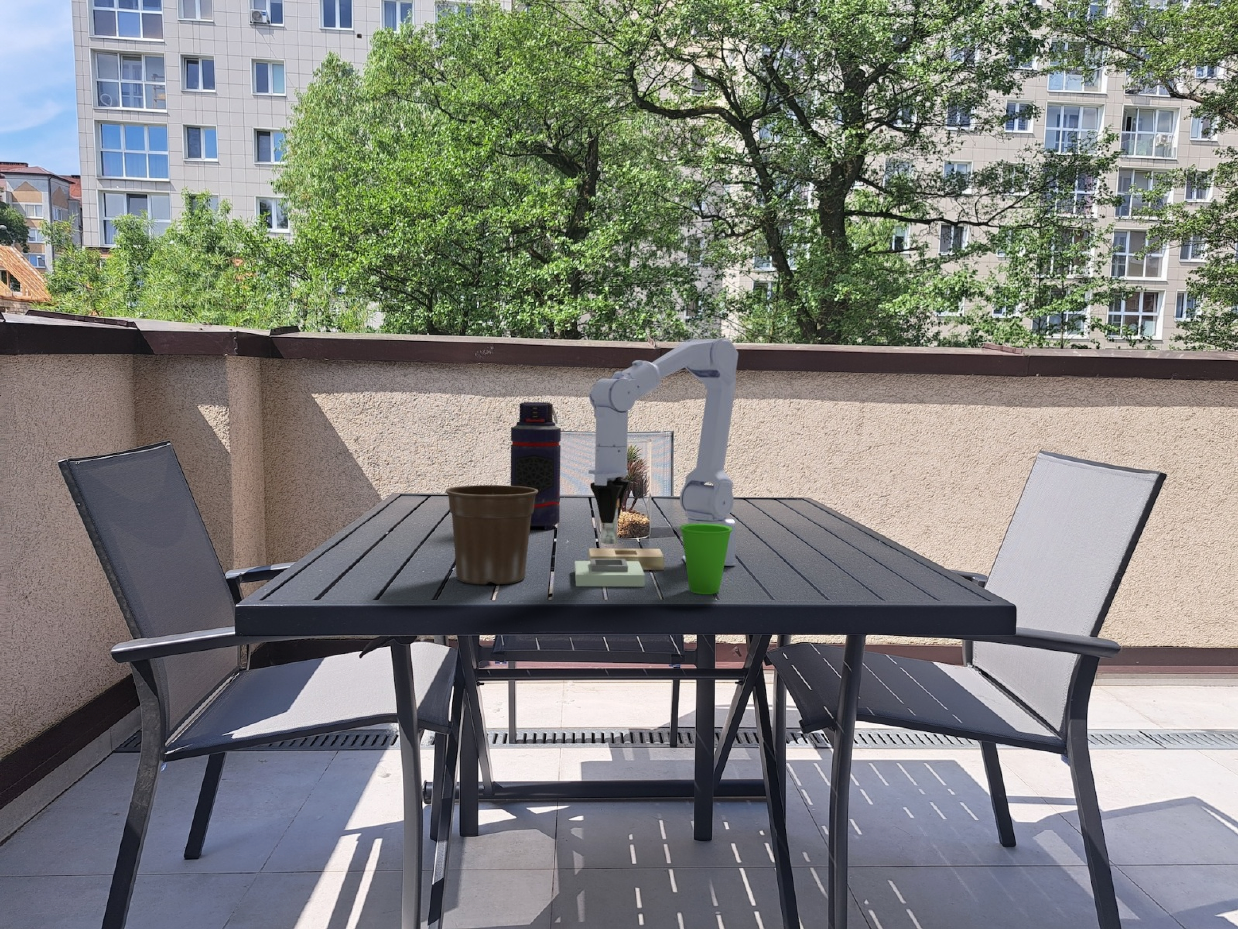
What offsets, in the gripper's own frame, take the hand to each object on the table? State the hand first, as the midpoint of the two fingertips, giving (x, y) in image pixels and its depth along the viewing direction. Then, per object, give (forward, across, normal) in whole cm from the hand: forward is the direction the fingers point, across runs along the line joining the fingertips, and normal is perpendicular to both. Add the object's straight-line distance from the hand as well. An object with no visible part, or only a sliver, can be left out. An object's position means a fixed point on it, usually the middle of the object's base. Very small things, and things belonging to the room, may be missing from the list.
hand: (609, 521), depth 163 cm
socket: (+10, 0, 0) cm, 10 cm away
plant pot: (+11, +7, -20) cm, 24 cm away
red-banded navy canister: (+11, -50, -32) cm, 60 cm away
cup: (+11, +4, +18) cm, 21 cm away
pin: (+4, 0, 0) cm, 4 cm away
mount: (+10, -12, 0) cm, 16 cm away
